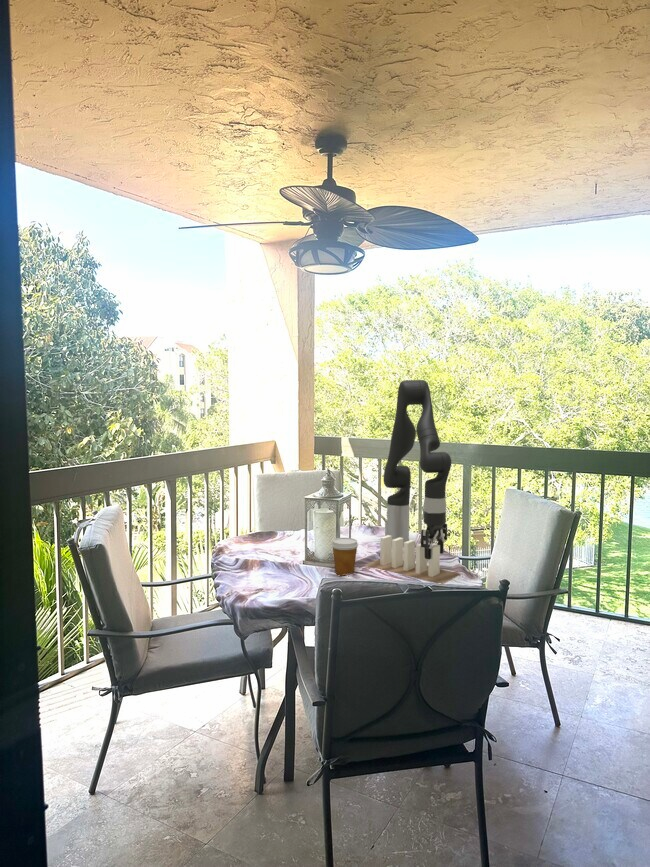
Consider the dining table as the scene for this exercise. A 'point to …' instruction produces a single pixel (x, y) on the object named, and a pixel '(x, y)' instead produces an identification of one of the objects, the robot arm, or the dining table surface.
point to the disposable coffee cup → (344, 555)
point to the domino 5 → (434, 561)
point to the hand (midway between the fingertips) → (434, 556)
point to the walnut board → (439, 578)
